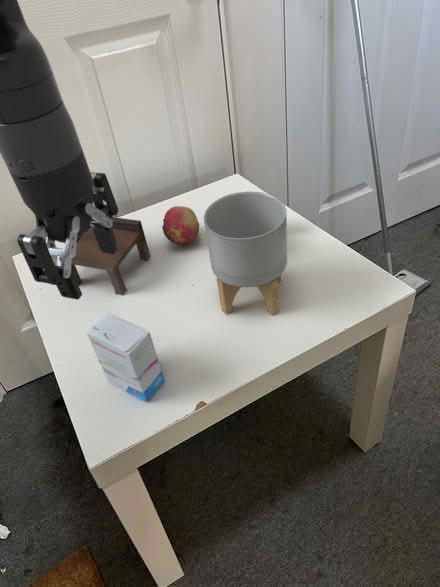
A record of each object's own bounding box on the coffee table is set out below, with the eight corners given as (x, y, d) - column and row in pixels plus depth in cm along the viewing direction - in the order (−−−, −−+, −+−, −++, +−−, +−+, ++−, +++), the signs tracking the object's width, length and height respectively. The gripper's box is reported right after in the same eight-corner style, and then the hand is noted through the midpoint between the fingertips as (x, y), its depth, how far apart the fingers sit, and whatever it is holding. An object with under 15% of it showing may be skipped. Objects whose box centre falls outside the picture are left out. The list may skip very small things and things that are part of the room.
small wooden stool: (123, 295, 88) (110, 259, 82) (71, 285, 92) (55, 250, 85) (150, 256, 96) (140, 220, 89) (101, 248, 99) (89, 213, 93)
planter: (302, 295, 82) (304, 212, 70) (247, 332, 77) (238, 250, 65) (255, 262, 90) (249, 182, 78) (203, 294, 86) (187, 214, 73)
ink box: (167, 379, 72) (151, 329, 64) (147, 403, 70) (127, 355, 61) (126, 359, 76) (106, 310, 68) (106, 381, 73) (83, 333, 65)
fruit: (203, 249, 95) (198, 217, 90) (167, 256, 95) (159, 224, 89) (199, 228, 101) (194, 197, 95) (165, 234, 101) (157, 203, 95)
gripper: (54, 120, 52) (96, 235, 63) (-35, 187, 43) (34, 308, 54) (110, 123, 49) (144, 242, 61) (29, 194, 40) (87, 319, 51)
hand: (92, 273), depth 57 cm, fingers open, 8 cm apart
